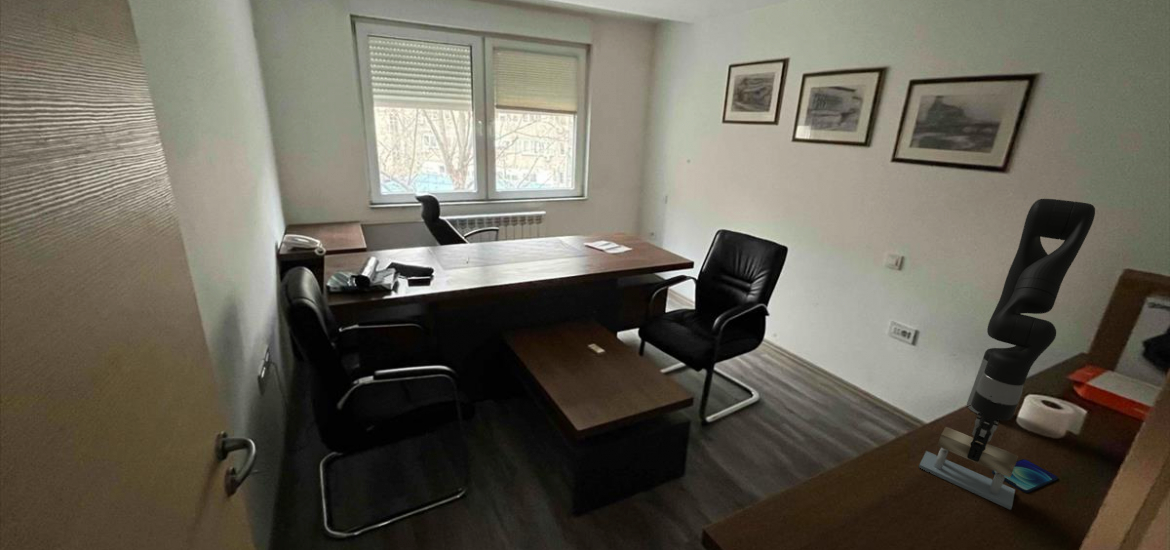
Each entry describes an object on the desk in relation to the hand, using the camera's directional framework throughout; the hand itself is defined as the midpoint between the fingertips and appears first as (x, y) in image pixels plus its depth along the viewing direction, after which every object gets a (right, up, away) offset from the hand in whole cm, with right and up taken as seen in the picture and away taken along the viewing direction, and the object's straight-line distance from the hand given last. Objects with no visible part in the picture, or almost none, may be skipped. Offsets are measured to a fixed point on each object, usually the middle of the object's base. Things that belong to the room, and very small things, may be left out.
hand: (974, 453), depth 111 cm
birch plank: (0, -1, 0) cm, 1 cm away
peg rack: (0, -7, +2) cm, 8 cm away
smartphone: (+17, -8, +5) cm, 20 cm away
